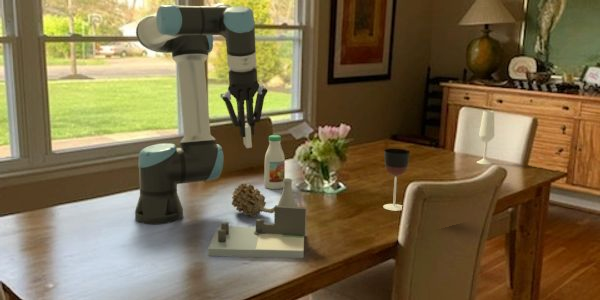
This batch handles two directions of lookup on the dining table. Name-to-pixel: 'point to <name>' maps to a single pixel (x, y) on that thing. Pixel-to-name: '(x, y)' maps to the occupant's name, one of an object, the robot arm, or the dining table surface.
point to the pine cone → (249, 200)
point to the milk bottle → (274, 164)
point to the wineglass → (395, 169)
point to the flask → (287, 194)
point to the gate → (285, 221)
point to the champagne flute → (486, 132)
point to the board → (254, 243)
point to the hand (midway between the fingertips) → (247, 145)
